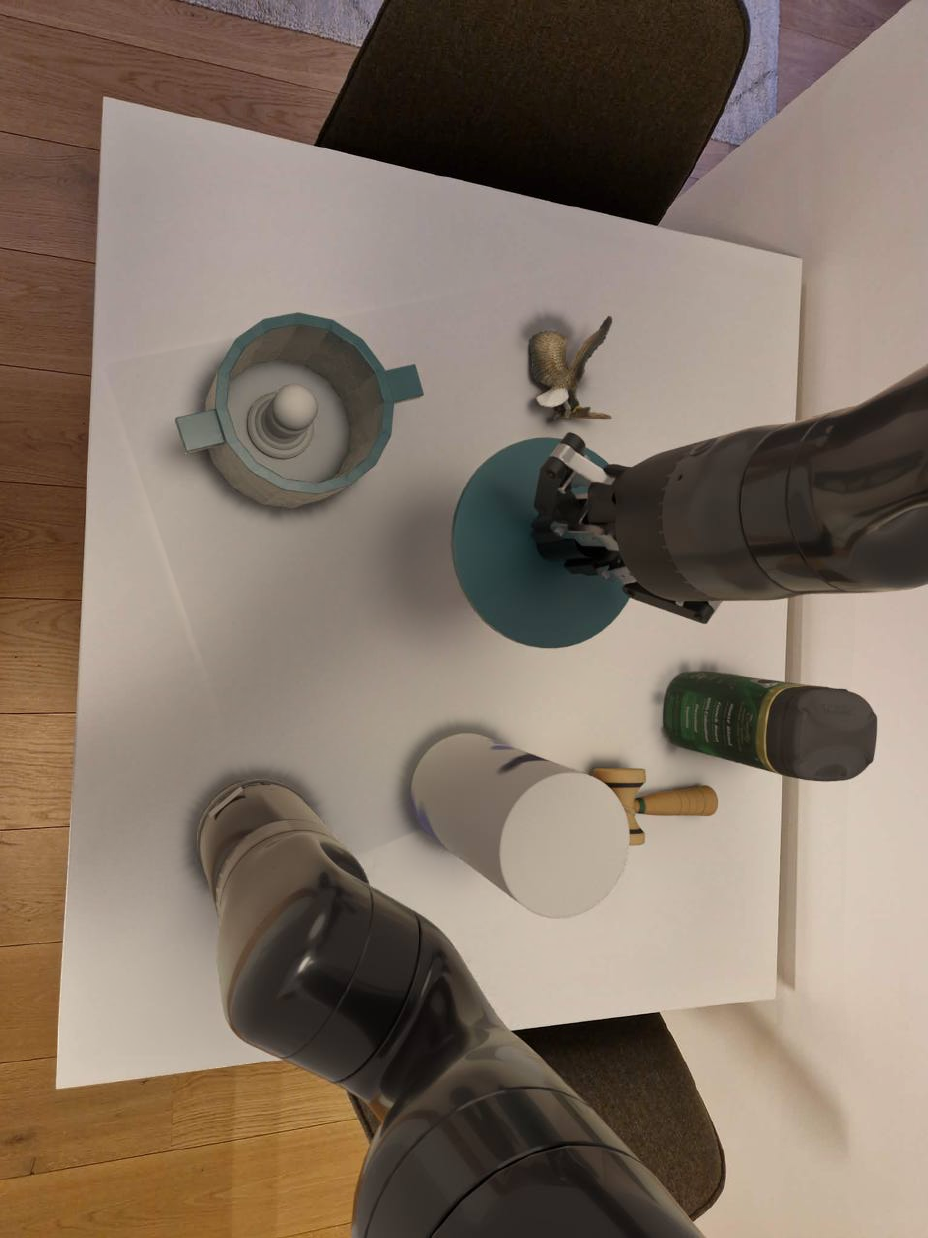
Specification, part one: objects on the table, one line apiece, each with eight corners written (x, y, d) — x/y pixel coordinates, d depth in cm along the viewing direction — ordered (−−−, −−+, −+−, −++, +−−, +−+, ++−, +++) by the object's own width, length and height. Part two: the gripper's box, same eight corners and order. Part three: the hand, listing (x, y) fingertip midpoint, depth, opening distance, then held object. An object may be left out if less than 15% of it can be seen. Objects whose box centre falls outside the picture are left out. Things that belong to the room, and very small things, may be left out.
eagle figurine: (613, 419, 82) (616, 318, 80) (610, 419, 75) (613, 308, 73) (531, 419, 84) (533, 320, 82) (521, 420, 77) (522, 311, 75)
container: (518, 734, 81) (637, 775, 62) (508, 844, 80) (624, 917, 62) (414, 729, 77) (508, 771, 58) (403, 844, 77) (494, 922, 58)
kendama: (689, 748, 89) (541, 757, 80) (736, 771, 83) (582, 782, 75) (677, 821, 90) (529, 837, 81) (721, 847, 85) (569, 867, 76)
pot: (404, 477, 76) (446, 459, 66) (198, 534, 70) (210, 523, 60) (362, 332, 75) (398, 292, 65) (147, 377, 69) (151, 340, 59)
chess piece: (234, 435, 70) (249, 413, 62) (267, 380, 71) (286, 351, 63) (292, 472, 72) (314, 455, 64) (324, 417, 73) (350, 393, 65)
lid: (654, 612, 61) (710, 612, 55) (481, 675, 56) (522, 683, 51) (604, 419, 59) (656, 399, 54) (421, 468, 55) (456, 452, 49)
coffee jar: (656, 749, 86) (791, 787, 69) (662, 668, 86) (798, 686, 69) (737, 751, 90) (885, 787, 72) (743, 673, 90) (892, 691, 72)
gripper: (584, 477, 37) (443, 515, 53) (789, 676, 41) (600, 656, 57) (679, 349, 39) (514, 424, 55) (866, 553, 43) (662, 567, 59)
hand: (559, 542), depth 56 cm, fingers closed on lid, 2 cm apart
